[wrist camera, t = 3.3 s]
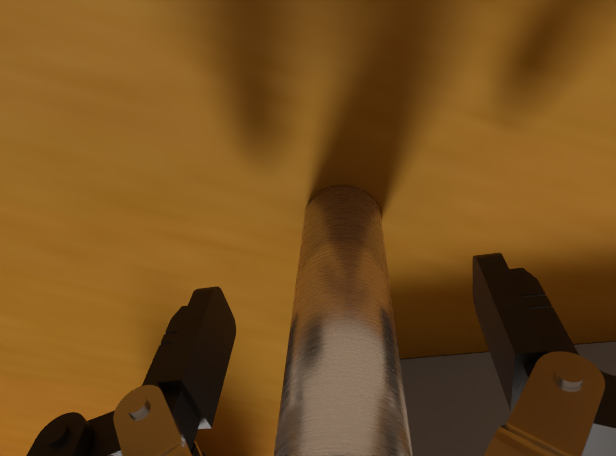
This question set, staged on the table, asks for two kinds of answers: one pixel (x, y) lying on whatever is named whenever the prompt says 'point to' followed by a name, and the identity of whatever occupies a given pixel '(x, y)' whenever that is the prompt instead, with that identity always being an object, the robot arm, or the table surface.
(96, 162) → the table surface
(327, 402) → the metal pin
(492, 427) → the socket block
